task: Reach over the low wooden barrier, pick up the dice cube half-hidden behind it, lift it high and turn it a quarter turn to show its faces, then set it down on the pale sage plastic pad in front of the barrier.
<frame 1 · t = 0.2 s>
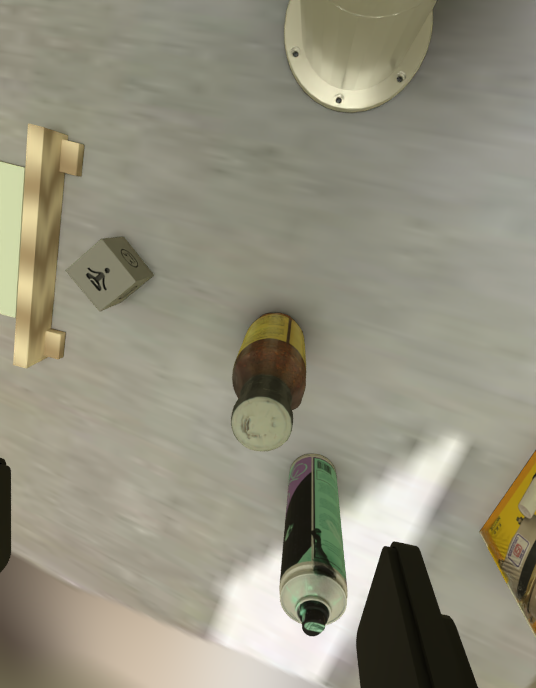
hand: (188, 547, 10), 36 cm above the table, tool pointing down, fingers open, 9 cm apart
spray can: (312, 473, 51), on the table
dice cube: (123, 269, 46), on the table
wooden barrier: (50, 253, 46), on the table
sauce bottle: (277, 338, 47), on the table
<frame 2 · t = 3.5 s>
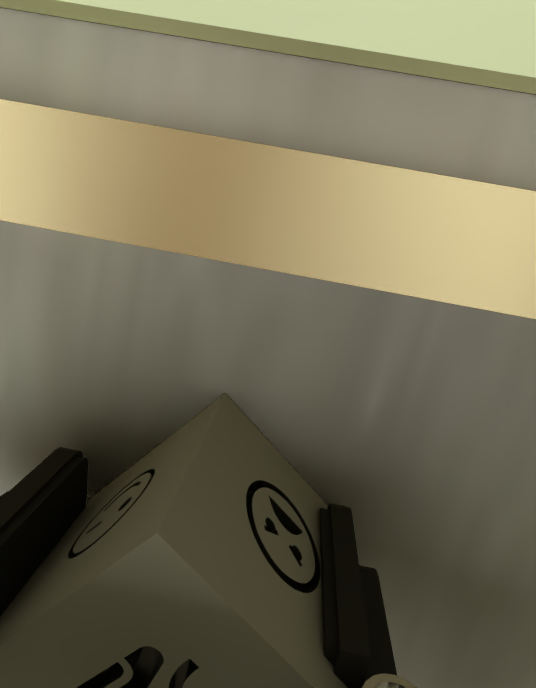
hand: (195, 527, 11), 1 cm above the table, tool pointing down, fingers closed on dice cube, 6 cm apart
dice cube: (220, 507, 12), on the table, touching gripper
wooden barrier: (242, 206, 9), on the table
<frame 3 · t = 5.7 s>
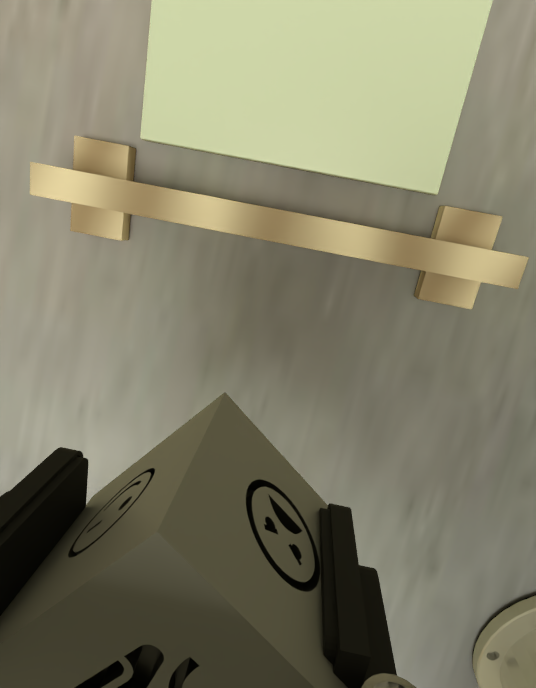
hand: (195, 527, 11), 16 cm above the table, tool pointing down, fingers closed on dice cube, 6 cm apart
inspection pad: (308, 52, 22), on the table
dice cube: (219, 507, 12), point 15 cm above the table, touching gripper
wooden barrier: (277, 223, 24), on the table
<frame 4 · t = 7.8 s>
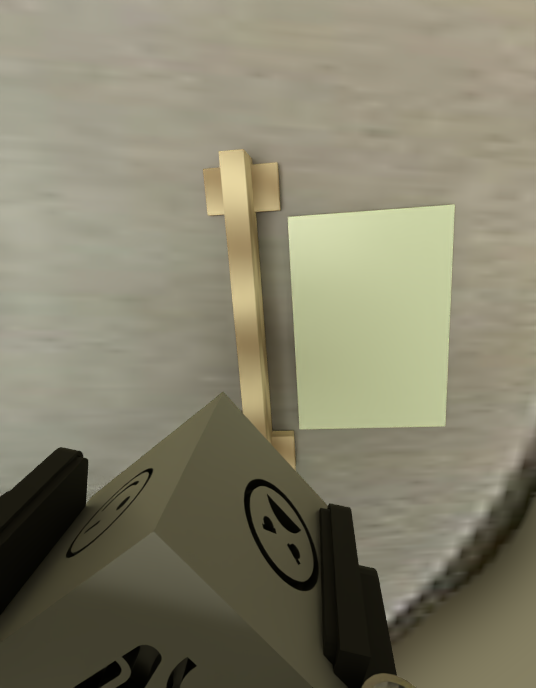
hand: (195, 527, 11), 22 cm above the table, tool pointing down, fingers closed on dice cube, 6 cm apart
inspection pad: (368, 324, 32), on the table
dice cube: (218, 507, 12), point 21 cm above the table, touching gripper
wooden barrier: (254, 329, 33), on the table
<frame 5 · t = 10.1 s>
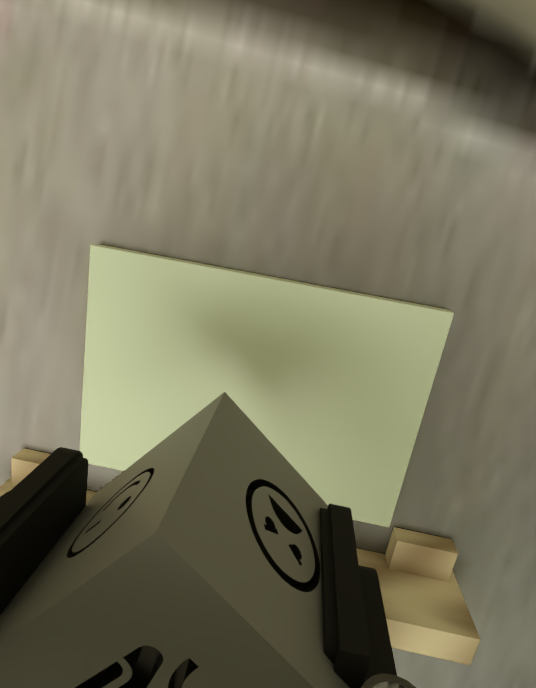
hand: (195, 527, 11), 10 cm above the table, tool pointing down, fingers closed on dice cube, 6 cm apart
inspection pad: (250, 388, 21), on the table
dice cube: (219, 507, 12), point 9 cm above the table, touching gripper
wooden barrier: (225, 531, 23), on the table
when the fingers open (3 cm above the table, at t = 12.0 s): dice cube drops 1 cm, resting on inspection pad.
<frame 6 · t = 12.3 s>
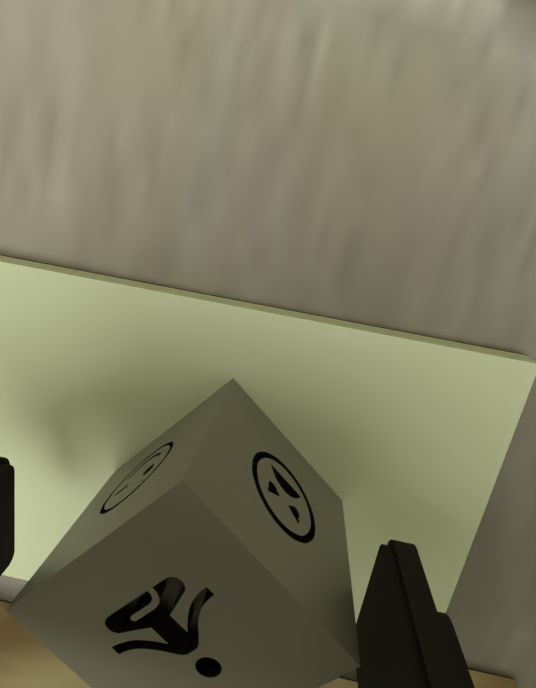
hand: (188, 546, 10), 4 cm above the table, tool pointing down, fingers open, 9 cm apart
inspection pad: (218, 466, 14), on the table
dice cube: (227, 481, 13), point 1 cm above the table, touching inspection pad
wooden barrier: (188, 658, 16), on the table
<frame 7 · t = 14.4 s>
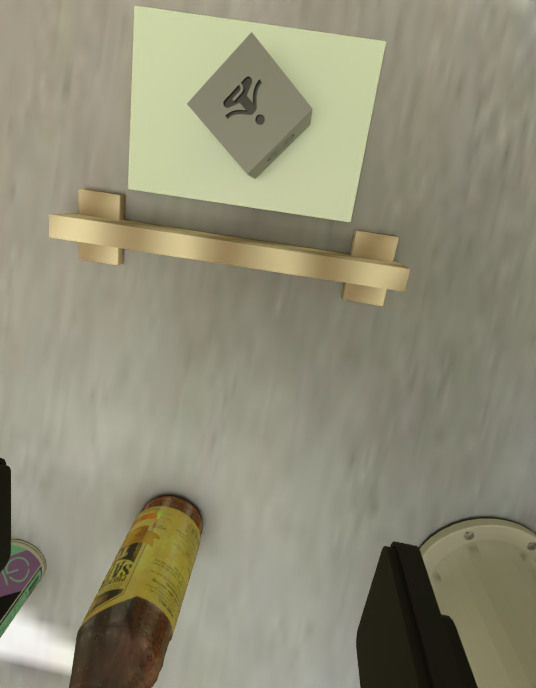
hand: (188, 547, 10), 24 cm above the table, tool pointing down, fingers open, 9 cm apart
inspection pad: (249, 122, 29), on the table
spray can: (21, 559, 43), on the table
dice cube: (257, 123, 29), point 1 cm above the table, touching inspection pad
wooden barrier: (235, 247, 32), on the table
sauce bottle: (172, 519, 41), on the table
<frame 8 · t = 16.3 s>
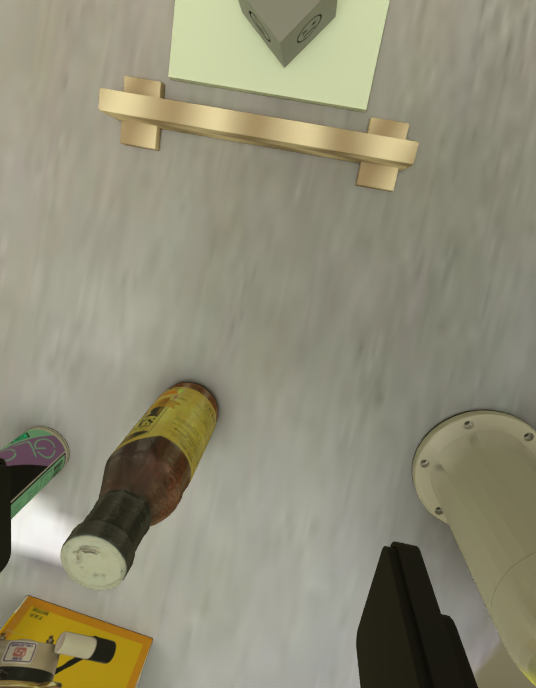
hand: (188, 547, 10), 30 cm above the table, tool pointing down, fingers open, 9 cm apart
packaging box: (79, 660, 55), on the table
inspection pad: (279, 17, 33), on the table
spray can: (46, 448, 46), on the table
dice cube: (288, 16, 33), point 1 cm above the table, touching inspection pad
wooden barrier: (261, 135, 36), on the table
sauce bottle: (189, 409, 43), on the table
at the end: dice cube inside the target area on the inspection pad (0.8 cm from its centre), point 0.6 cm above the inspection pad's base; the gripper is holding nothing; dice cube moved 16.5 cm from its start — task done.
